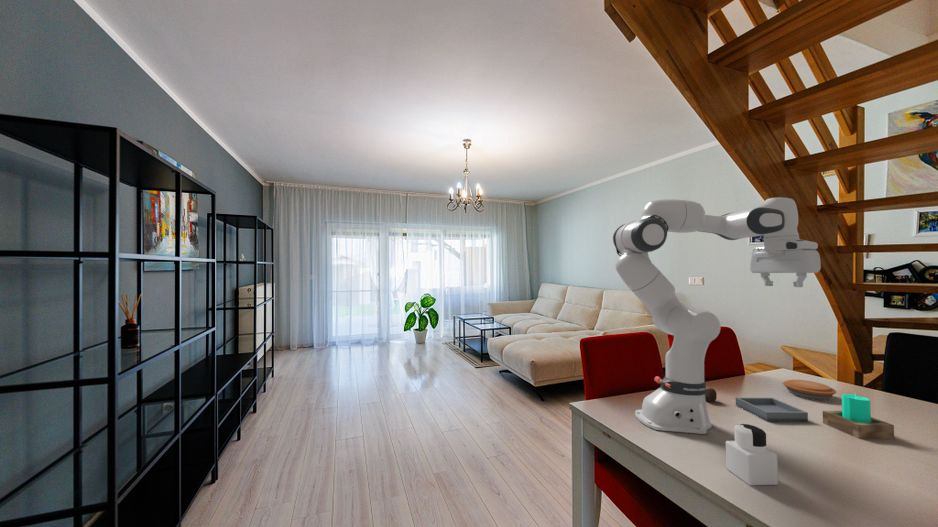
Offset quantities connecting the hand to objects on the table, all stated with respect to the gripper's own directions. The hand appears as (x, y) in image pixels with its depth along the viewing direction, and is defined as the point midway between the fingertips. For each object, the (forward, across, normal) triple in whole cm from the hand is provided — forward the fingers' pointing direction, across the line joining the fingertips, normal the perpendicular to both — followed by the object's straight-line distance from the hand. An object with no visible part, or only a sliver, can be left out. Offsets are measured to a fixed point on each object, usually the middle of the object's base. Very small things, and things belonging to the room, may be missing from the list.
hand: (783, 286), depth 114 cm
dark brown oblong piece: (+46, -27, -12) cm, 54 cm away
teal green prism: (+46, +8, +16) cm, 49 cm away
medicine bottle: (+45, +25, -40) cm, 65 cm away
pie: (+46, -21, +35) cm, 62 cm away
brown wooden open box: (+46, +8, +16) cm, 49 cm away
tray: (+45, -8, +2) cm, 46 cm away
